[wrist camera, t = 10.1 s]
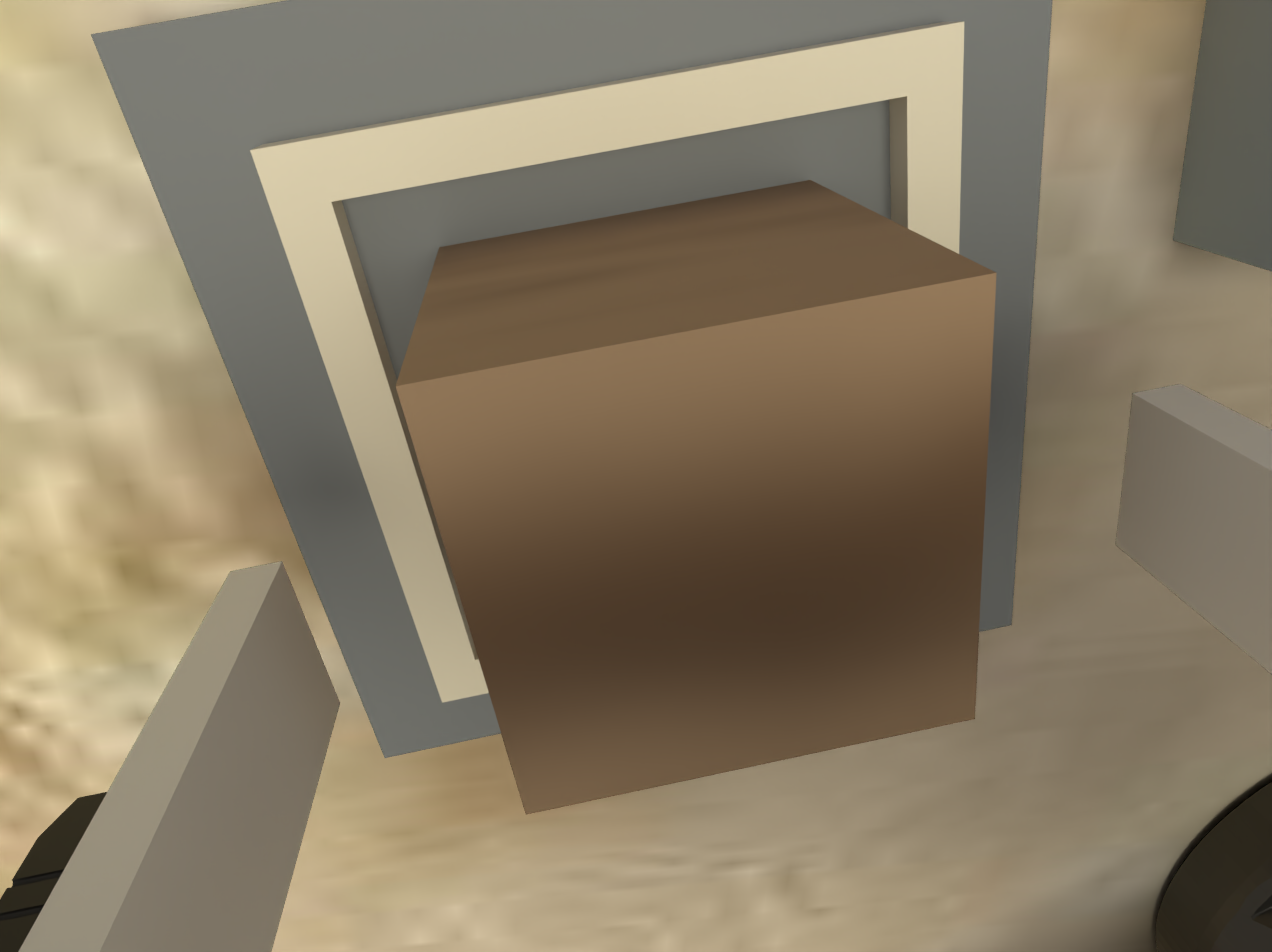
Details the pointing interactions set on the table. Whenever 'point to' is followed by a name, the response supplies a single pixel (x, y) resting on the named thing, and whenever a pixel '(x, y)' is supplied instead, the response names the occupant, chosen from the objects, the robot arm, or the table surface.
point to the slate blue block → (1230, 137)
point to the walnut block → (708, 482)
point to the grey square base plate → (539, 224)
